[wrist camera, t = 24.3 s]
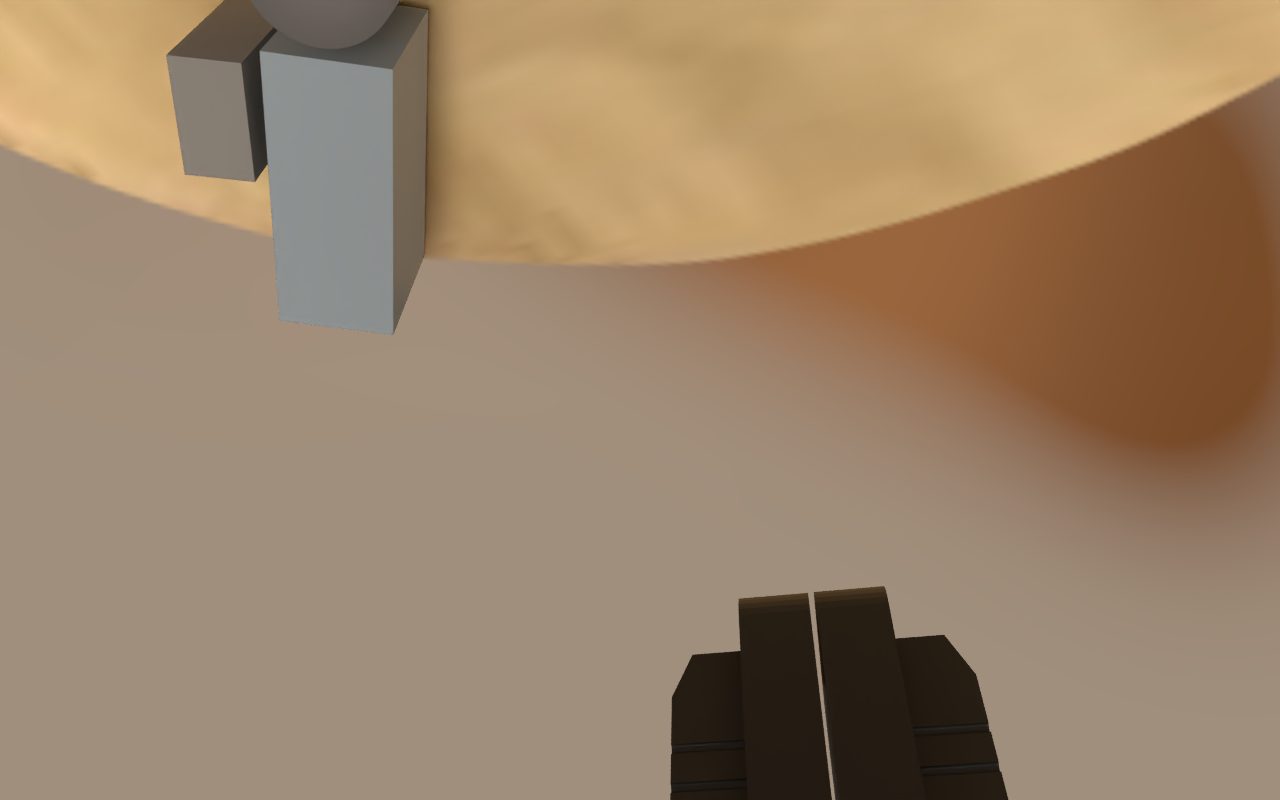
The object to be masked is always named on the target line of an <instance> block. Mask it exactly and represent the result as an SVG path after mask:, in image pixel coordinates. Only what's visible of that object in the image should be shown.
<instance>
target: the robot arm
mask: <svg viewBox="0 0 1280 800" xmlns="http://www.w3.org/2000/svg"><path fill="white" fill-rule="evenodd" d="M814 598H815V609H816V621H817V632H818V642H819V652H820V664H821V674H822V685H823V695H824V705H825V714H826V723H827V732H828V741H829V750H830V758H831V766H832V775H833V783H834V791H835V800H1008V796H1007V793H1006V789H1005V785H1004V781H1003V777H1002V773H1001V772H1000V770H999V764H998V763H999V762H998V758H997V754H996V750H995V746H994V742H993V738H992V734H991V732H990V731H989V725H988V719H987V715H986V711H985V707H984V704H983V700H982V696H981V692H980V688H979V684H978V680H977V676H976V674H975V673H974V672H973V670H972V669H971V668H970V666H969V665H968V664H967V663H966V661H965V660H964V659H963V658H962V657H961V655H960V654H959V653H958V652H957V650H956V649H955V648H954V647H953V645H952V644H951V643H950V642H949V641H948V639H947V638H946V637H945V635H936V636H924V637H910V638H897V639H895V634H894V629H893V623H892V618H891V613H890V608H889V603H888V598H887V594H886V590H885V587H884V586H882V587H870V588H858V589H847V590H834V591H822V592H814ZM739 628H740V649H741V651H735V652H723V653H710V654H697V655H692V657H691V659H690V661H689V663H688V666H687V668H686V670H685V672H684V674H683V676H682V678H681V680H680V682H679V684H678V686H677V688H676V690H675V692H674V694H673V696H672V728H671V730H672V731H671V745H672V754H671V798H670V799H671V800H832V797H831V789H830V780H829V771H828V763H827V755H826V746H825V737H824V728H823V719H822V711H821V702H820V693H819V685H818V677H817V667H816V659H815V650H814V642H813V633H812V624H811V615H810V607H809V599H808V593H803V594H791V595H778V596H766V597H754V598H742V599H739Z"/></svg>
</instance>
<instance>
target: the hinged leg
mask: <svg viewBox="0 0 1280 800" xmlns="http://www.w3.org/2000/svg"><path fill="white" fill-rule="evenodd" d="M250 1H251V2H252V4H253V5H254V7H255V8H256V10H257V11H258V12H259V13H260V14H261V15H262V17H263V18H264V19H265V20H266V21H267V22H268V23H270V24H271V25H272V26H273V27H274V28H275V29H277V30H278V31H277V32H276V33H275V34H274V35H273V36H272V37H271V39H270V40H269V41H268V42H267V43H266V44H265V45H264V46H263V48H262V49H261V50H260V64H261V78H262V91H263V105H264V118H265V132H266V145H267V159H268V172H269V186H270V199H271V213H272V226H273V240H274V252H275V265H276V280H277V293H278V307H279V320H280V321H288V322H296V323H304V324H311V325H319V326H327V327H335V328H342V329H350V330H358V331H366V332H373V333H381V334H390V335H393V334H394V331H395V329H396V326H397V324H398V321H399V319H400V316H401V314H402V311H403V309H404V306H405V303H406V301H407V298H408V296H409V293H410V291H411V288H412V285H413V283H414V280H415V278H416V275H417V273H418V270H419V267H420V265H421V262H422V260H423V257H424V238H425V178H426V118H427V58H428V9H423V8H416V7H409V6H402V5H397V4H398V3H399V1H400V0H250Z"/></svg>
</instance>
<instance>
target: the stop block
mask: <svg viewBox="0 0 1280 800" xmlns="http://www.w3.org/2000/svg"><path fill="white" fill-rule="evenodd" d="M277 31H278V30H277V29H275V28H274V27H273V26H272V25H271V24H270V23H268V22H267V21H266V20H265V19H264V18H263V17H262V15H261V14H260V13H259V12H258V11H257V10H256V8H255V7H254V5H253V4H252V2H251V1H250V0H225V1H223V2H222V3H221V4H220V5H219V6H218V7H217V8H216V9H215V10H214V11H213V12H212V13H211V14H210V15H209V16H207V17H206V18H205V19H204V20H203V21H202V22H201V23H200V24H199V25H198V26H197V27H196V28H195V29H194V30H193V31H191V32H190V33H189V34H188V35H187V36H186V37H185V38H184V39H183V40H182V41H181V42H180V43H179V44H178V45H177V46H175V47H174V48H173V49H172V50H171V51H170V52H169V53H168V54H167V55H166V56H167V63H168V69H169V76H170V82H171V88H172V95H173V101H174V108H175V114H176V120H177V127H178V133H179V140H180V146H181V153H182V159H183V165H184V172H185V175H195V176H204V177H214V178H223V179H232V180H242V181H251V182H255V181H256V180H257V178H258V177H259V175H260V174H261V173H262V171H263V170H264V168H265V167H266V165H267V164H268V159H267V145H266V132H265V118H264V105H263V91H262V78H261V64H260V50H261V49H262V48H263V46H264V45H265V44H266V43H267V42H268V41H269V40H270V39H271V37H272V36H273V35H274V34H275V33H276V32H277Z"/></svg>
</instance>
